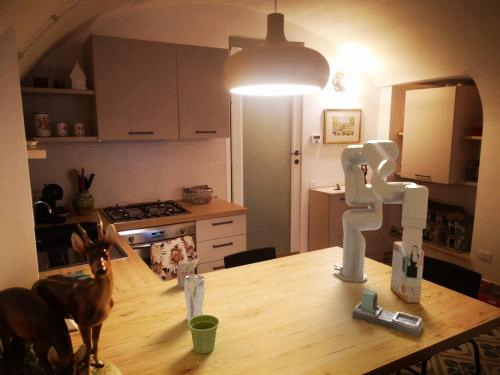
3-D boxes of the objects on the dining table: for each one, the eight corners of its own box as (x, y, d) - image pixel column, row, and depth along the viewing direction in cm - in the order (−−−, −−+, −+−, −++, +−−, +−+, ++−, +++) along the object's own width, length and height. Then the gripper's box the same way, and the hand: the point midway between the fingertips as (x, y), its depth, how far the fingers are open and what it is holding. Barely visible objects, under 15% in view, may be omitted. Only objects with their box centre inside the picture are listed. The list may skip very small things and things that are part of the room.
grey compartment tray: (352, 317, 133) (352, 308, 133) (358, 309, 139) (359, 301, 139) (418, 337, 121) (419, 327, 120) (422, 327, 127) (423, 318, 126)
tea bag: (177, 284, 161) (177, 262, 159) (193, 282, 163) (192, 260, 161) (178, 288, 157) (178, 265, 156) (194, 285, 159) (194, 263, 158)
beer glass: (199, 325, 127) (198, 283, 125) (181, 321, 129) (180, 280, 127) (208, 315, 134) (207, 275, 131) (191, 312, 136) (190, 273, 134)
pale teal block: (401, 273, 130) (402, 254, 129) (415, 275, 129) (416, 255, 128) (402, 277, 126) (404, 257, 125) (417, 279, 125) (418, 259, 124)
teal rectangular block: (360, 311, 133) (362, 292, 132) (364, 307, 136) (365, 288, 135) (373, 314, 130) (374, 295, 129) (377, 310, 133) (378, 291, 132)
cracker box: (421, 303, 145) (425, 251, 142) (406, 303, 145) (410, 251, 142) (403, 288, 159) (406, 240, 156) (389, 288, 158) (393, 241, 155)
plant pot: (182, 353, 111) (181, 326, 110) (198, 337, 119) (198, 312, 118) (209, 361, 107) (209, 333, 106) (224, 344, 116) (224, 318, 114)
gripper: (398, 216, 133) (395, 265, 136) (405, 227, 117) (402, 282, 120) (421, 217, 132) (417, 267, 134) (431, 228, 116) (427, 285, 118)
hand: (410, 274), depth 127 cm, fingers closed on pale teal block, 4 cm apart
